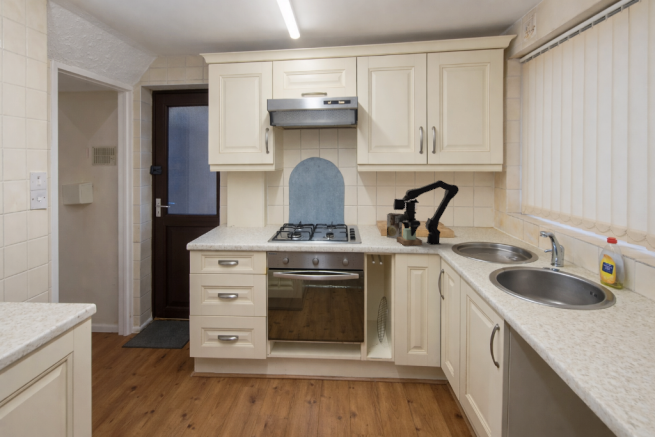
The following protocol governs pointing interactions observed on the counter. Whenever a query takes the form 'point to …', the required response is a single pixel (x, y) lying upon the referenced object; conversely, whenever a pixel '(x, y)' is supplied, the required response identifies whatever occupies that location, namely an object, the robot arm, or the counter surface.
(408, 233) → the cube
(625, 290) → the counter surface
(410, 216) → the robot arm
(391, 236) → the coffee box
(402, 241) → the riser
